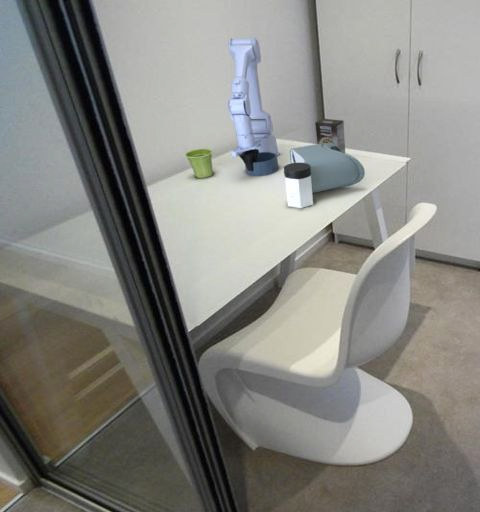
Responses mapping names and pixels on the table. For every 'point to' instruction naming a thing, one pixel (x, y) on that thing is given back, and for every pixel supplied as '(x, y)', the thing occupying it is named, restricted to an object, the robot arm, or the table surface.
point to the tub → (264, 164)
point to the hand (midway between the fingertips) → (251, 170)
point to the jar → (298, 185)
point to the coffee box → (331, 132)
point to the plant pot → (201, 162)
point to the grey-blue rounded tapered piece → (328, 166)
